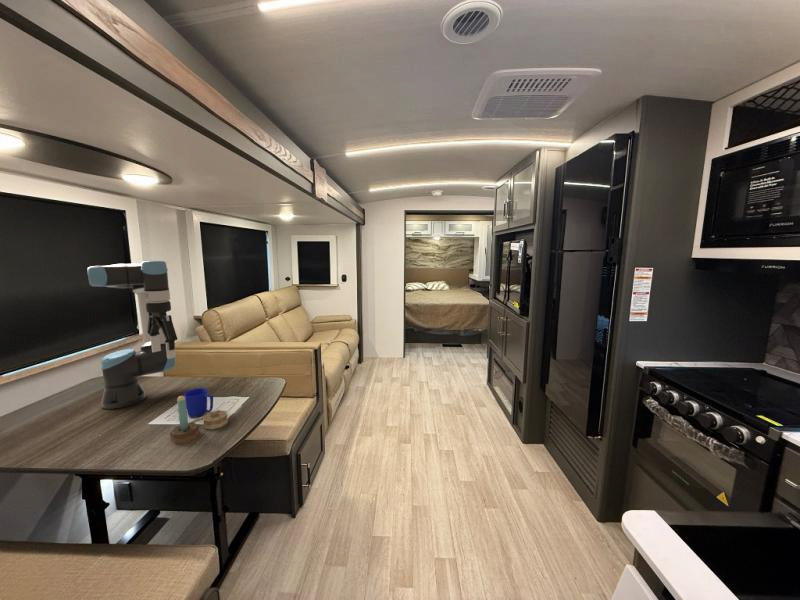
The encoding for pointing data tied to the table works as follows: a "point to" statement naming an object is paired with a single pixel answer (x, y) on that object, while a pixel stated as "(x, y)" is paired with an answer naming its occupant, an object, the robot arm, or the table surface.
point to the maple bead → (215, 419)
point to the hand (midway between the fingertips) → (164, 354)
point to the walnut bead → (184, 433)
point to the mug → (197, 402)
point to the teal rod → (182, 413)
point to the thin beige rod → (196, 419)
